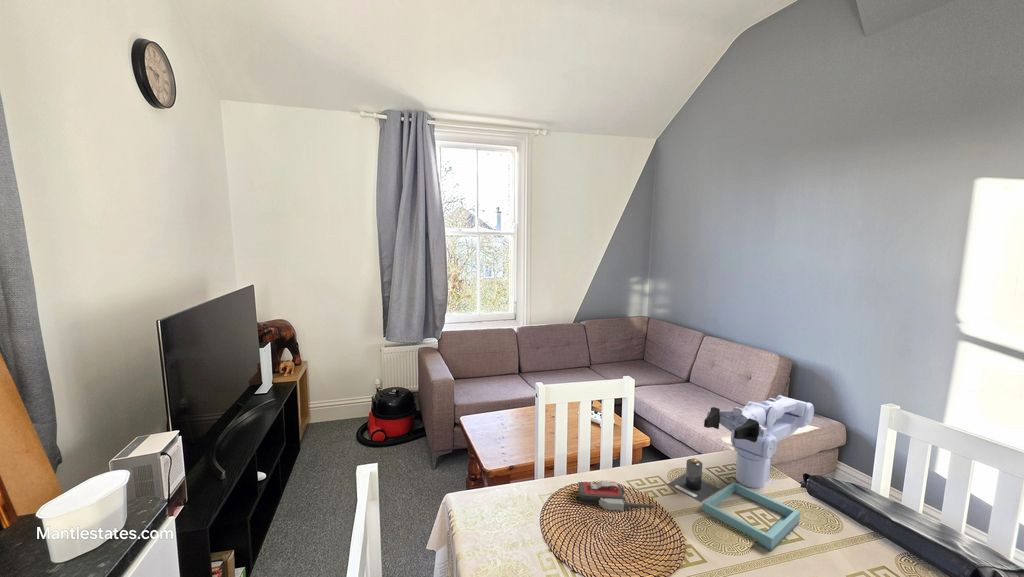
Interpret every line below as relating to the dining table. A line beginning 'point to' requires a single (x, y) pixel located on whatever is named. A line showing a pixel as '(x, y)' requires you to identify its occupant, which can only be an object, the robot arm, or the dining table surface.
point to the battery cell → (693, 474)
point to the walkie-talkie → (605, 496)
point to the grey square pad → (698, 495)
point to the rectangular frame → (763, 538)
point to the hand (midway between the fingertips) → (720, 428)
